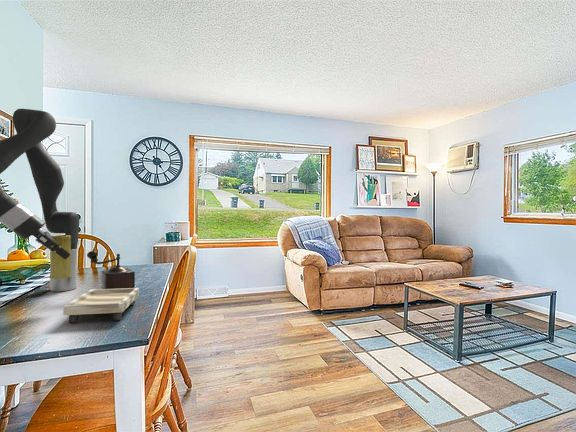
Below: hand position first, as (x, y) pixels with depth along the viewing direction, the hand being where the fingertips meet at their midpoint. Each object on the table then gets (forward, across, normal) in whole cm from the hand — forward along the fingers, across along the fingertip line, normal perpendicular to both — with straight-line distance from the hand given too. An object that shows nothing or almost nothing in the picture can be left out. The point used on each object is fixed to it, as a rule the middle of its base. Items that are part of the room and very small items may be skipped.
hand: (67, 255), depth 105 cm
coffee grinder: (+24, +12, +3) cm, 27 cm away
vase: (+4, 0, +6) cm, 8 cm away
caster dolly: (+20, -13, +6) cm, 25 cm away
